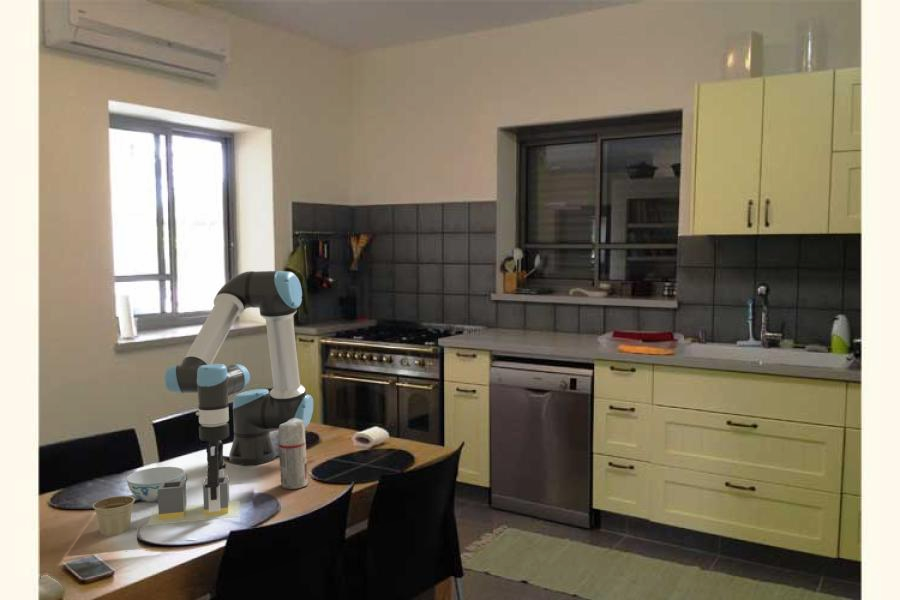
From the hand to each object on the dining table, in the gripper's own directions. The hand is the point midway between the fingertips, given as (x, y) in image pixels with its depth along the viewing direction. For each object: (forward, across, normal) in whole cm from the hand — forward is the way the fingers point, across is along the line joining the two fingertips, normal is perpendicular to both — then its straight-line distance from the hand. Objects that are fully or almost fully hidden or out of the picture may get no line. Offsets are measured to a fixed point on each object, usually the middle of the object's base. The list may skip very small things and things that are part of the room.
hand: (216, 502), depth 184 cm
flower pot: (+4, +7, -24) cm, 25 cm away
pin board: (+4, 0, -6) cm, 7 cm away
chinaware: (+4, -16, -18) cm, 24 cm away
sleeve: (+2, 0, 0) cm, 2 cm away
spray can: (+4, -19, +20) cm, 28 cm away
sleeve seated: (+2, 0, -11) cm, 11 cm away
